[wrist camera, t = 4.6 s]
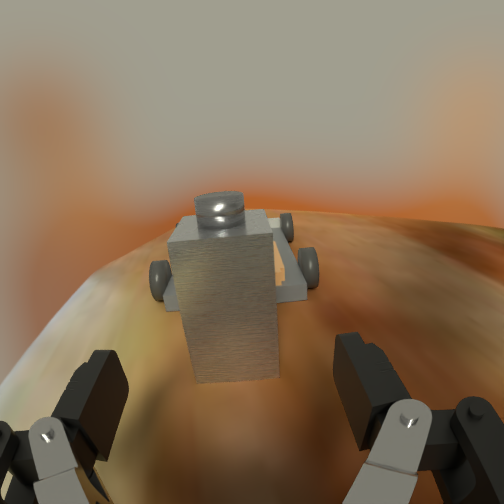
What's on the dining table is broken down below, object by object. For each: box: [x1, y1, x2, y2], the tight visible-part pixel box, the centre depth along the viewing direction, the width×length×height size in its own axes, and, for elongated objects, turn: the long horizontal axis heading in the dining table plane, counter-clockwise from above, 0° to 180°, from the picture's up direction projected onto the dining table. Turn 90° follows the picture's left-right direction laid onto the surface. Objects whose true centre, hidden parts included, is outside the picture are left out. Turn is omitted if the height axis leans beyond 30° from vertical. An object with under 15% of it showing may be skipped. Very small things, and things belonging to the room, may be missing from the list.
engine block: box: [167, 191, 280, 384], centre depth 18 cm, size 5×5×10 cm
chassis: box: [149, 213, 319, 311], centre depth 34 cm, size 18×14×4 cm
